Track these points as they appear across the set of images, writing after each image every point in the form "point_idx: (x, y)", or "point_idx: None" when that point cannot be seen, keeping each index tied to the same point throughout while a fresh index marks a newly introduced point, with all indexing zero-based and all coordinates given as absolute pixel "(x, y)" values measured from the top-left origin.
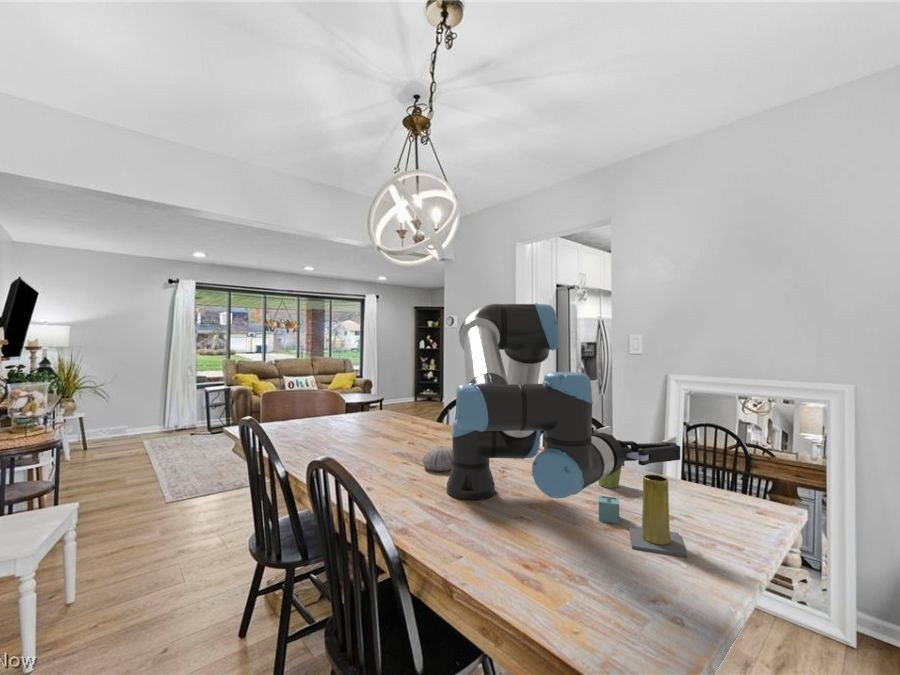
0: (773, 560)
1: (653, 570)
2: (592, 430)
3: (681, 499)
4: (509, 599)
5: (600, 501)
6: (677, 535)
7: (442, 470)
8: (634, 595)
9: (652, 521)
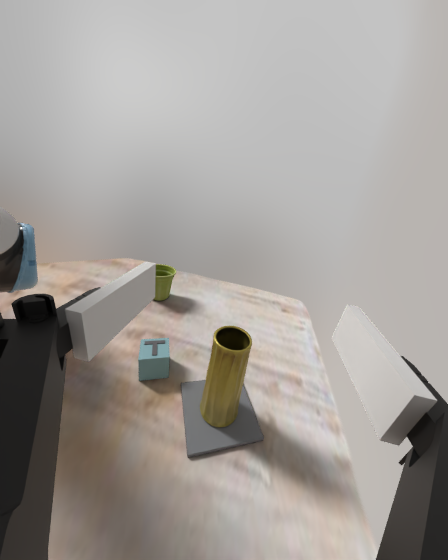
0: (331, 393)
1: (230, 543)
2: (52, 311)
3: (226, 305)
4: None
5: (141, 357)
6: None
7: None
8: None
9: (221, 403)
